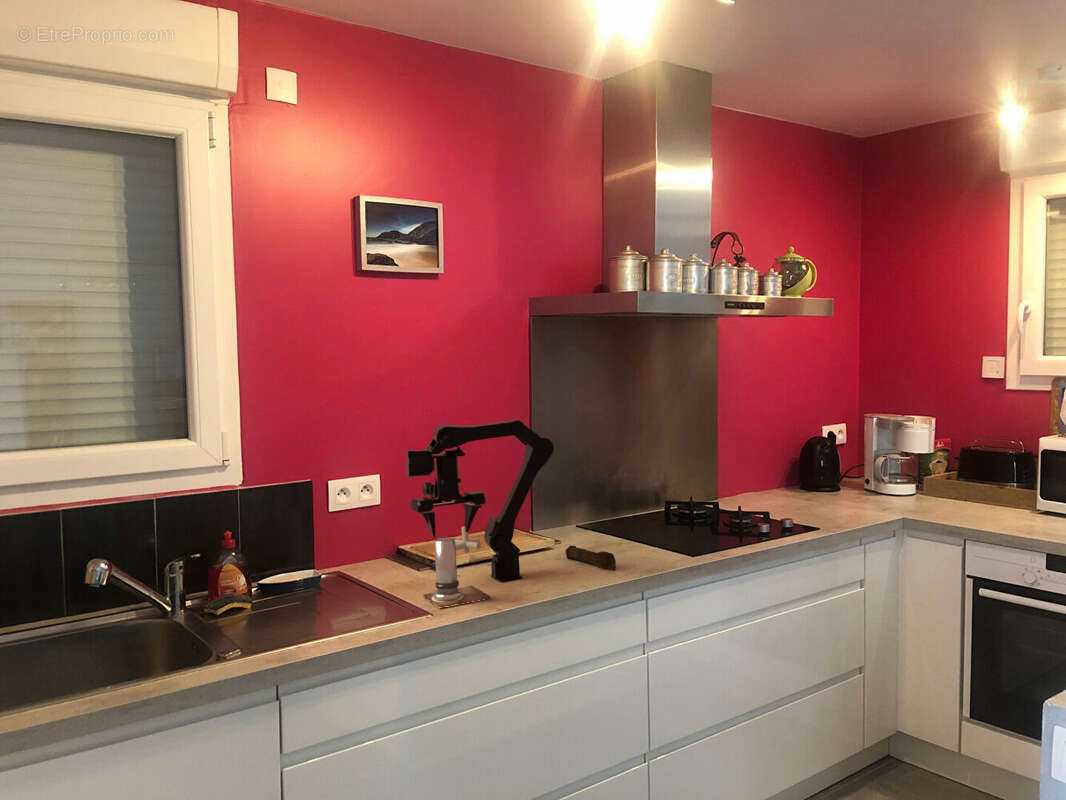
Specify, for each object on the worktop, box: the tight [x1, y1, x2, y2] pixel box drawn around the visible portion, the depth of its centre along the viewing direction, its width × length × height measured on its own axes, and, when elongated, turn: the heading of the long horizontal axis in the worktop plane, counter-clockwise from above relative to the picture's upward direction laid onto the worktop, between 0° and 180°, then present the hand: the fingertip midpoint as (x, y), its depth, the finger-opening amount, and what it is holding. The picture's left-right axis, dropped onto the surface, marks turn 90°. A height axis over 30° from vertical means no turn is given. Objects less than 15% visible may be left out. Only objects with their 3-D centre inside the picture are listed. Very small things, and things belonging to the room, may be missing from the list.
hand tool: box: [565, 545, 617, 571], centre depth 235 cm, size 19×4×5 cm, turn 34°
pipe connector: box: [454, 525, 482, 554], centre depth 243 cm, size 10×10×10 cm
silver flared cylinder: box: [432, 537, 462, 601], centre depth 207 cm, size 7×7×14 cm
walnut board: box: [422, 585, 491, 607], centre depth 209 cm, size 13×11×1 cm
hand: (450, 534), depth 220 cm, fingers open, 9 cm apart
